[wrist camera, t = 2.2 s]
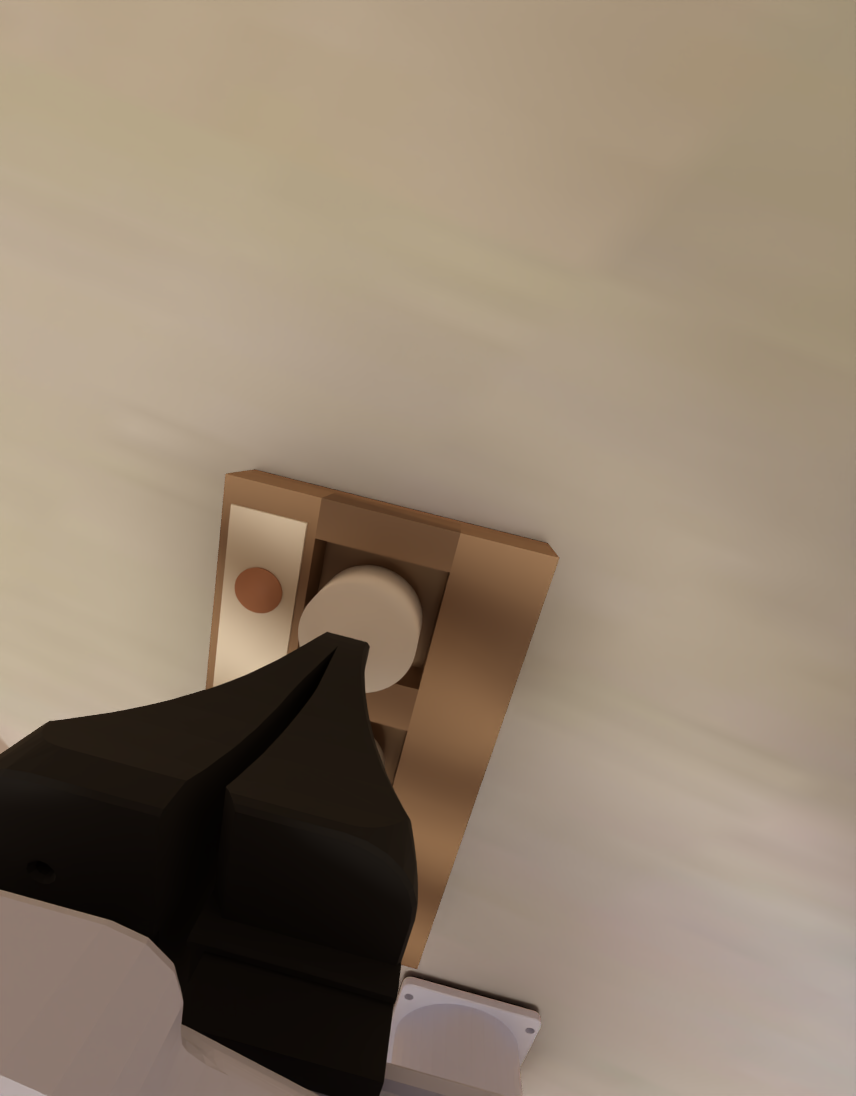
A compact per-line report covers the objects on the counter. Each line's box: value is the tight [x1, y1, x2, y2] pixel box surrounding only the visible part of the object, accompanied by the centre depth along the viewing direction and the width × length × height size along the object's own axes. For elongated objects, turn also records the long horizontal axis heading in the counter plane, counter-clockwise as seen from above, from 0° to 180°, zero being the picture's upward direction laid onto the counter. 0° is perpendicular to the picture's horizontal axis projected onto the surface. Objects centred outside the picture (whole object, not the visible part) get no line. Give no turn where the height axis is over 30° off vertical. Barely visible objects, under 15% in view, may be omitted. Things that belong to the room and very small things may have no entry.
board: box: [206, 470, 559, 969], centre depth 18 cm, size 22×12×2 cm, turn 167°
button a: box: [298, 565, 423, 693], centre depth 14 cm, size 4×4×2 cm
